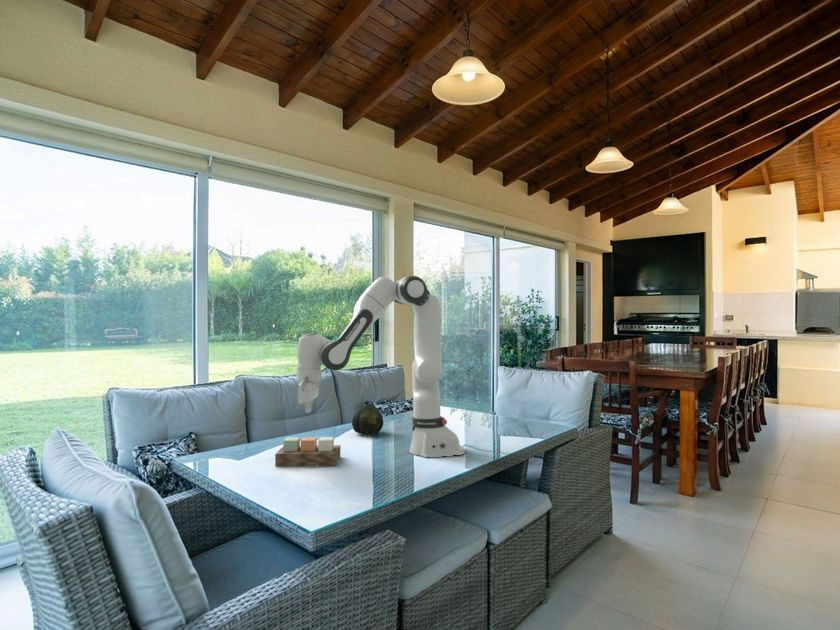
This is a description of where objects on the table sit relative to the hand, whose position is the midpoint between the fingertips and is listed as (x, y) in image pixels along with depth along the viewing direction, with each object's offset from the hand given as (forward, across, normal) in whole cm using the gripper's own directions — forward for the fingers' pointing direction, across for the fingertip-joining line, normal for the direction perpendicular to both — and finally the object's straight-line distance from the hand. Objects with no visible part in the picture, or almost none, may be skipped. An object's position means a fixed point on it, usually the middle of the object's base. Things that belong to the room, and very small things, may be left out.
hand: (308, 412), depth 186 cm
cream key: (+15, 0, -7) cm, 16 cm away
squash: (+18, +45, -18) cm, 52 cm away
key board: (+18, 0, 0) cm, 19 cm away
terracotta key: (+15, 0, 0) cm, 15 cm away
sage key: (+15, 0, +6) cm, 16 cm away
